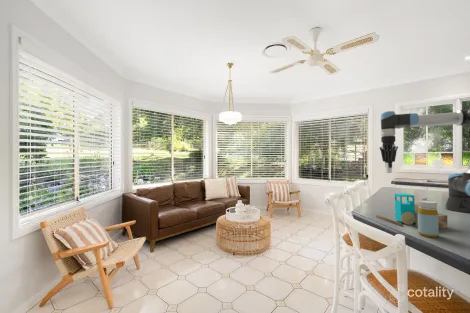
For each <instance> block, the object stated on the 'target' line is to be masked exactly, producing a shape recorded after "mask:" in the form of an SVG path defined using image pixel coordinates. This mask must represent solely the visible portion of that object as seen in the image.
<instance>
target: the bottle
mask: <svg viewBox="0 0 470 313" xmlns="http://www.w3.org/2000/svg"><path fill="white" fill-rule="evenodd" d="M418 204H419V209H418V228H417V233H418V234H419V235H420V236H423V237H425V238H426V237H427V238H437V237H439V234H440V233H439V232H440V230H439V229H440V228H439V226H438V214H439V211H438V209H437V207H438V204H437V201H433V200H428V199H427V200H422V199H421V200H418Z"/></svg>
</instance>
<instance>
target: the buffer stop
mask: <svg viewBox="0 0 470 313" xmlns="http://www.w3.org/2000/svg"><path fill="white" fill-rule="evenodd" d="M438 226H439V229H447V228H448V215H447V214H443V213H438ZM415 228H416V229H418V215H416V223H415Z"/></svg>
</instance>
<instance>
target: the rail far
mask: <svg viewBox="0 0 470 313" xmlns="http://www.w3.org/2000/svg"><path fill="white" fill-rule="evenodd" d="M377 217H378V218H377ZM375 218H377V219H380V220H383V221H386V222H388V223H391V224H394V225H396V226H399V227H404V223H403V222H400V221H397V220H393V219H391V218H390V219H389V218H387V217H384V216H382V215H379V214H376V215H375Z"/></svg>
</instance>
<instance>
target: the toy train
mask: <svg viewBox="0 0 470 313" xmlns="http://www.w3.org/2000/svg"><path fill="white" fill-rule="evenodd" d="M403 197H405V198H406V202H403ZM397 198H399V200H398V199H397ZM410 198H412V200H410ZM421 200H428V197H421ZM418 209H419V203H416V202H415V195H414V194H412V193H411V194H410V193H406V192H405V193H401V192H400V193H399V192H397V193H396V192H395V193H394V217H395V218H394V219H395V221H397V222H399V223H402V224H405V225H413V224H416V215H418Z"/></svg>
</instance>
